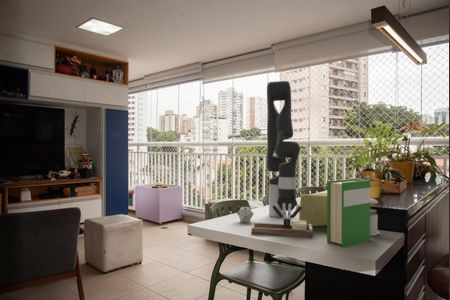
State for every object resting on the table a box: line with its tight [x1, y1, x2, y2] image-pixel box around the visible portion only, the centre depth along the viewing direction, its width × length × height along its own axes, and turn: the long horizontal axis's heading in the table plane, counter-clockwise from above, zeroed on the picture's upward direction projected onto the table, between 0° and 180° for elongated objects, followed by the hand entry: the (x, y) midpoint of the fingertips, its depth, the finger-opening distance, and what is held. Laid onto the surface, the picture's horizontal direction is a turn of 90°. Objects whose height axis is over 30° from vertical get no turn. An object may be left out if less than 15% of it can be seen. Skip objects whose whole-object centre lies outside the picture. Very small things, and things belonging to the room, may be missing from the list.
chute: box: [250, 222, 314, 238], centre depth 137 cm, size 10×25×4 cm, turn 78°
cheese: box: [298, 192, 327, 227], centre depth 153 cm, size 22×10×15 cm, turn 110°
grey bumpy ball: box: [236, 205, 254, 223], centre depth 158 cm, size 9×8×10 cm
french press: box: [365, 175, 381, 236], centre depth 139 cm, size 10×12×25 cm
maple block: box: [291, 219, 307, 231], centre depth 136 cm, size 6×6×4 cm
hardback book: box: [326, 178, 371, 248], centre depth 125 cm, size 18×7×24 cm, turn 125°
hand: (286, 227), depth 137 cm, fingers closed
